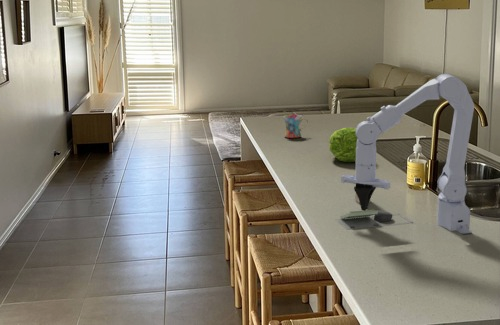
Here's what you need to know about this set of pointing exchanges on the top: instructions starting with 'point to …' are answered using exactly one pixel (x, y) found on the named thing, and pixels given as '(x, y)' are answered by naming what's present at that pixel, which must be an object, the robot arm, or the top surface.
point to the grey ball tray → (365, 222)
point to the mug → (293, 125)
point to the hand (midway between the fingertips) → (364, 209)
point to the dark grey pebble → (383, 216)
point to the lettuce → (344, 144)
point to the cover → (359, 214)
